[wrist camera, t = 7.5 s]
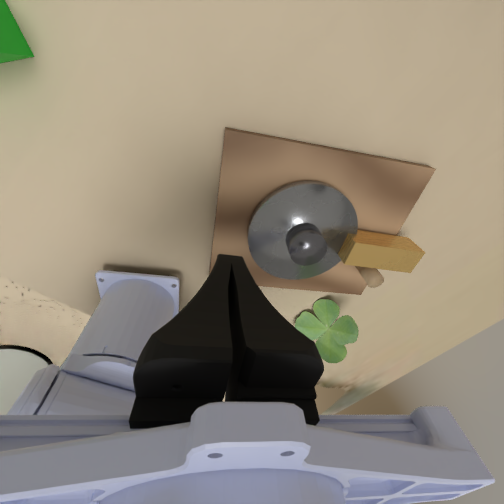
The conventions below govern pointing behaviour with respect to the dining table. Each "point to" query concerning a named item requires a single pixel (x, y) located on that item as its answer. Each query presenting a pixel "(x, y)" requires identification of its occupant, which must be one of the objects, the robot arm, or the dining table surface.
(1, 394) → the water bottle
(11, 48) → the mechanical part
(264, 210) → the pan with wooden handle
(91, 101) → the dining table surface
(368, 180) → the board
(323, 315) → the seedling
